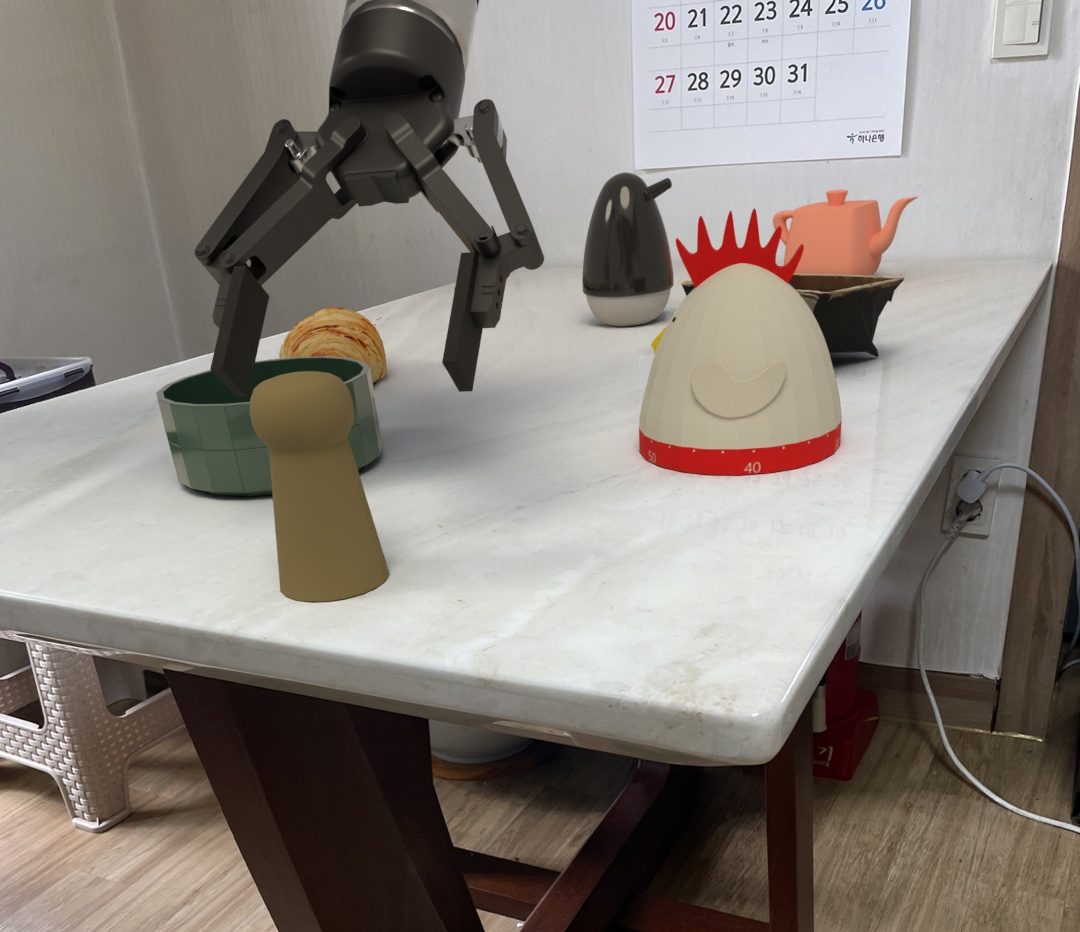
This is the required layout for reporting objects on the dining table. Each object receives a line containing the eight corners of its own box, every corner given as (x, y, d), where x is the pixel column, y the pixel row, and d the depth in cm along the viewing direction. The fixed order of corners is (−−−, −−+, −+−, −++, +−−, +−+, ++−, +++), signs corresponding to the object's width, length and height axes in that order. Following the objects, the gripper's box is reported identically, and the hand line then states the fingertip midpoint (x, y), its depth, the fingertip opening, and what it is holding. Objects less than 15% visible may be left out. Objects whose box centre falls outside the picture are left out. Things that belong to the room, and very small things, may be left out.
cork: (256, 591, 57) (208, 385, 51) (333, 553, 61) (295, 359, 56) (337, 609, 54) (294, 393, 48) (411, 568, 58) (380, 364, 53)
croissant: (372, 439, 96) (401, 355, 93) (264, 398, 93) (291, 310, 90) (370, 385, 114) (395, 313, 111) (280, 349, 111) (302, 275, 108)
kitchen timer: (647, 422, 81) (642, 208, 73) (831, 415, 78) (844, 192, 71) (632, 478, 69) (623, 229, 61) (847, 472, 66) (866, 212, 59)
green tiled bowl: (138, 499, 74) (112, 407, 70) (245, 440, 86) (227, 358, 83) (328, 502, 70) (310, 404, 66) (413, 439, 82) (401, 354, 79)
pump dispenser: (657, 331, 113) (654, 173, 105) (570, 330, 117) (561, 179, 109) (688, 313, 120) (687, 165, 113) (605, 314, 125) (598, 171, 117)
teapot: (788, 274, 140) (791, 188, 135) (924, 275, 131) (933, 182, 125) (752, 288, 132) (754, 197, 127) (894, 290, 123) (903, 192, 118)
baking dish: (776, 360, 105) (762, 254, 100) (930, 350, 91) (921, 227, 86) (671, 400, 98) (652, 289, 94) (819, 397, 84) (804, 266, 80)
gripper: (623, 88, 61) (578, 413, 56) (248, 126, 68) (180, 419, 63) (598, -30, 54) (544, 330, 49) (183, 26, 61) (100, 346, 56)
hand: (339, 381), depth 56 cm, fingers open, 13 cm apart
